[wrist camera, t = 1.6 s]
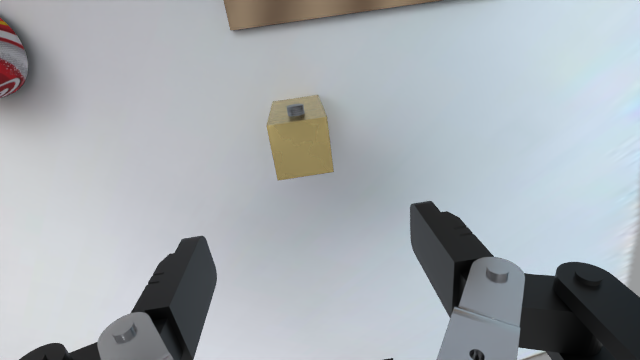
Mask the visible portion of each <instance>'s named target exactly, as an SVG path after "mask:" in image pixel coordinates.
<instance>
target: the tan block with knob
mask: <svg viewBox="0 0 640 360" xmlns="http://www.w3.org/2000/svg"><path fill="white" fill-rule="evenodd" d="M267 130H268V135H269V140H270V145H271V150H272V155H273V159H274V164H275V169H276V174H277V179H278V180H284V179H290V178H297V177H303V176H310V175H317V174H323V173H330V172H334V171H333V163H332V155H331V147H330V138H329V130H328V122H327V116H326V114H325V111H324V109H323V106H322V104H321V102H320V99H319V97H318V95H314V96H308V97H301V98H294V99H287V100H280V101H274V102H273V103H272V107H271V110H270V114H269V118H268V122H267Z"/></svg>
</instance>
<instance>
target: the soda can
mask: <svg viewBox="0 0 640 360" xmlns="http://www.w3.org/2000/svg"><path fill="white" fill-rule="evenodd" d="M27 74H28V60H27V56H26V52H25V50H24V47H23V45H22V43H21V41H20V39H19V38H18V36H17V35H16V34H15V32H14V31H13V30H12V29H11V28H10V27H9V25H8V24H7V23H6V22H4V21H3V20H2V19H1V18H0V98H2V97H5V96H7V95H10V94H12V93H14V92H16V91H17V90H18V89H20V87H21V86H22V85H23V84H24V82H25V80H26V77H27Z"/></svg>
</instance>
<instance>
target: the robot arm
mask: <svg viewBox="0 0 640 360" xmlns="http://www.w3.org/2000/svg"><path fill="white" fill-rule="evenodd" d="M410 231H411V244H412V248H413V251H414V253H415V255H416V257H417V259H418V261H419V262H420V264H421V266H422V268H423V270H424V271H425V273H426V275H427V277H428V279H429V280H430V282H431V284H432V286H433V288H434V290H435V291H436V293H437V295H438V297H439V299H440V300H441V302H442V304H443V306H444V308H445V309H446V311H447V313H448V315H449V317H450V321H449V324H448V327H447V330H446V333H445V336H444V339H443V342H442V345H441V348H440V351H439V354H438V357H437V360H517V354H518V347H520V348H527V349H535V350H542V351H546V352H547V354H548V355H549V356H550V357H551V359H552V360H640V297H638V296H637V295H636V294H635V293H634V292H632V291H631V290H630V289H629V288H628V287H626V286H625V285H624V284H623V283H622V282H620V281H619V280H618V279H617V278H615V277H614V276H613V275H612V274H610V273H609V272H607V271H605V270H603V269H601V268H599V267H597V266H594V265H590V264H586V263H581V262H568V263H564V264H561V265H560V266H559V267H558V268H557V270H556V274H555V276H547V275H534V274H525V273H523V271H522V270H521V269H520V267H518V266H517V265H516V264H514V263H512V262H510V261H508V260H506V259H502V258H498V257H494V256H493V255H492V254H491V253H490V252H489V251H488V249H487V248H486V247H485V246H484V245H483V244H482V243H481V242H480V241H479V239H478V238H477V237H476V236H475V235H474V234H472V232H471V230H470V229H469V228H467V227H466V225H465V224H464V223H463V222H462V220H461V219H460V218H459V217H457V216H455V215H453V214H451V213H449V212H440V211H439V209H438V208H437V207H436V206H435V205H434V203H433V202H432V201H427V202H421V203H414V204H411V206H410ZM216 281H217V273H216V267H215V264H214V261H213V258H212V255H211V253H210V250H209V247H208V244H207V241H206V239H205V237H204V236H198V237H191V238H185V239H182V240H181V242H180V244H179V246H178V247H177V249H176V251H175V253H173V254H169V255H168V256H167V257H166V258H165V259H164V260H163V261H161V262H160V263H159V265H158V266H157V268H156V270H155V272H154V273H153V276H152V277H151V279H150V280H149V282H148V285H147V286H146V287H145V289H144V291H143V293H142V294H141V296H140V298H139V300H138V301H137V303H136V305H135V307H134V308H133V310H132V312H131V313H130V314H127V315H125V316H123V317H121V318H119V319H117V320H116V321H114V322H113V323H111V324H110V325H109V326H108V327H107V328H106V329H105V330H104V331H103V332H102V334H101V335H100V337H99V339H98V342H96V343H94V344H91V345H89V346H86V347H84V348H81V349H78V350H76V351H73V352H71V353H68V351H67V350H66V348H65V347H64V345H62V344H60V343H51V344H47V345H44V346H41V347H39V348H37V349H35V350H33V351H31V352H29V353H28V354H26V355H25V356H23V357H22V358H21V359H19V360H193V359H194V356H195V352H196V349H197V346H198V342H199V339H200V336H201V332H202V329H203V326H204V323H205V319H206V316H207V313H208V309H209V306H210V303H211V299H212V296H213V293H214V289H215V286H216ZM384 360H393V358H391V359H384Z"/></svg>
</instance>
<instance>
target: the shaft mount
mask: <svg viewBox="0 0 640 360" xmlns="http://www.w3.org/2000/svg"><path fill="white" fill-rule="evenodd" d="M435 1H442V0H224V4H225V8H226V13H227V17H228V22H229V26H230V30H240V29H247V28H253V27H260V26H267V25H274V24H281V23H288V22H295V21H302V20H309V19H316V18H323V17H330V16H337V15H344V14H351V13H358V12H365V11H372V10H379V9H386V8H393V7H400V6H407V5H414V4H421V3H428V2H435Z"/></svg>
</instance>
